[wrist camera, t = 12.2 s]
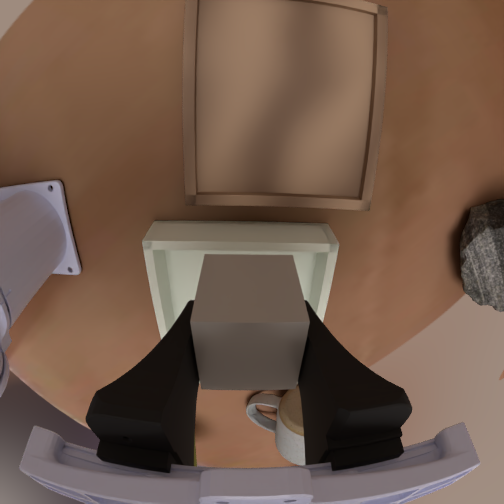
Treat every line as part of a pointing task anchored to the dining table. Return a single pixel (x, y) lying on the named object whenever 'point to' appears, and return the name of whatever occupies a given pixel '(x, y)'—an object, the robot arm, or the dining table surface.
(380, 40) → the wooden tray
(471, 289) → the rock
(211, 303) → the stone
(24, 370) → the dining table surface
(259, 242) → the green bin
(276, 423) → the ceramic mug
